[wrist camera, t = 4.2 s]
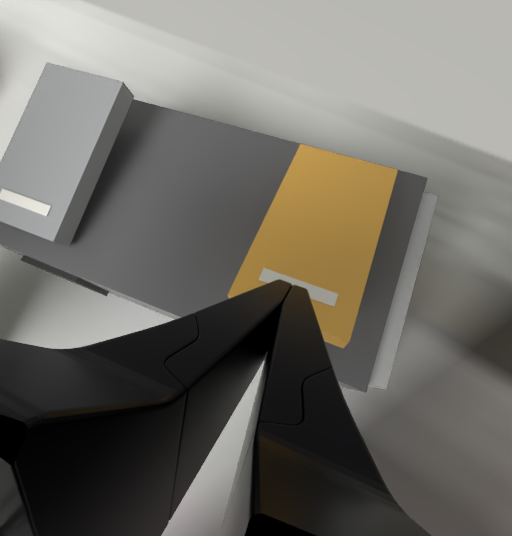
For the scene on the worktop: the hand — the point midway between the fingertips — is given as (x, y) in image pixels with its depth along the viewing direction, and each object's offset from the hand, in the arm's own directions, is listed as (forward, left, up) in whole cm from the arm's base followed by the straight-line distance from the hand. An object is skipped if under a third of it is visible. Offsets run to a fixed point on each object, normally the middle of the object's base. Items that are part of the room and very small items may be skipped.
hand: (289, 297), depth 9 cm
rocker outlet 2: (+2, +3, -4) cm, 5 cm away
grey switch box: (-2, +7, -11) cm, 13 cm away
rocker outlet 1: (-7, +11, -4) cm, 14 cm away
